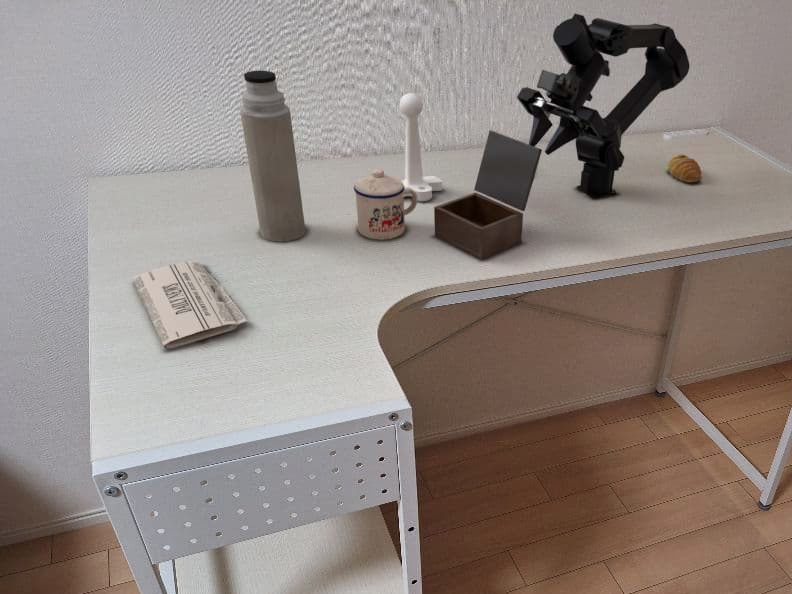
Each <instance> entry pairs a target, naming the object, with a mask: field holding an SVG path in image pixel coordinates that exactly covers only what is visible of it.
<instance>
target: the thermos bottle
mask: <svg viewBox="0 0 792 594" xmlns="http://www.w3.org/2000/svg"><path fill="white" fill-rule="evenodd" d="M243 78H244V80H245V88H246V91H244V92H243V93H242V95H241V96H242V97H241V98H242V100H241V103H242V106H241V107H240V109H239V113H240V118H241V119H240V120H241V126H242V130H243V137H244V142H245V148H246V154H247V160H248V166H249V172H250V178H251V184H252V190H253V191H252V192H253V197H254V203H255V207H256V208H255V209H256V213H257V219H258V225H259V232H260V236H261V237H262V238H263V239H266V240H268V241H272V242H289V241H295V240H297V239H300V238H301V237H303V236H304V235H305V233H306V223H305V215H304V211H303V210H304V209H303V200H302V193H301V184H300V178H299V170H298V169H299V168H298V161H297V155H296V146H295V139H294V131H293V122H292V115H291V109H290V107H289V105H287V104H286V103H285V102H286V98H285V96H284V93H283V92H281V91H280V90H278V84H277V81H276V79H277V75H276V73H275V72H273V71H269V70H250V71H246V72H245V73H244V74H243Z"/></svg>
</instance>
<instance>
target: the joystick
mask: <svg viewBox="0 0 792 594" xmlns="http://www.w3.org/2000/svg"><path fill="white" fill-rule="evenodd" d="M423 108H424V104H423V101H422V99H421V97H420V96H419V95H418V94H416V93H413V92H412V93H411V92H409V93H406V94H403V96H402V97H401V98H400V100H399V109H400V111H401V113H402V114H403V115H404V118H405V145H404V147H405V148H404V149H405V151H404V152H405V153H404V155H405V157H404V161H405V162H404V179H402V180H401V179H400V180H401V181H402V183H403V185H404V188H410V189H412V190H414V191H415V192H416V194H417V202H421V203H423V202H428V201H430V200H431V199H432V198H433V192H434V191H435V192H441V191H442V190H443V180H441V179H440V178H438V177H437V176H436V175H435V176H434V175H428V176H423V175H424V174H423V164H422V153H421V141H420V131H419V116H420V115H421V114H422V111H423V110H424V109H423ZM403 197H404V198H405V197H412V193H405V194H403Z"/></svg>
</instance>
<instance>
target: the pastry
mask: <svg viewBox="0 0 792 594" xmlns="http://www.w3.org/2000/svg"><path fill="white" fill-rule="evenodd" d="M667 168H668V172H669V173H670V175H672V176H673V177H675V179H678V181H681V182H685V183H694V182H695V183H696V182H700V180H701V179H702V170H701V167H700V165H699V164H698V162H697V161H696V160H695V159H694V158H691V157H689V156H688V155H685V154H678V155H676V156H673V158H671V159H670V160H669V162H668V164H667Z"/></svg>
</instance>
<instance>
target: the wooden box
mask: <svg viewBox="0 0 792 594" xmlns="http://www.w3.org/2000/svg"><path fill="white" fill-rule="evenodd" d="M433 214H434V215H433V216H434V218H433V219H434V220H433V221H434V238H436V239H438V240H441V241H443V242H445V243H446V244H448V245H451V246H452V247H454V248H456V249H458V250H461V251H462V252H465V253H466V254H468V255H470V256H473V257H474V258H476V259H478V260H480V261H483V260H486V259H488V258H490V257H493V256H495V255H497V254H500V253H502V252H504V251H506V250H509V249H511V248H513V247H516V246H519V245H521V244H522V240H523V220H524V213H523V212H522V211H518V210H516V209H515V208H513V207H510V206H507V205H506V204H505V205H504V203H501V202H499V201H496V200H495V199H492V198H490V197H488V196H487V197H486V196H485V195H482V194H481V193H480V194H479V192H473V193H469V194H467V195H463V196H461V197H458V198H456V199H453V200H450V201H447V202H444V203H442V204H439V205H436V206H433Z"/></svg>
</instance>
